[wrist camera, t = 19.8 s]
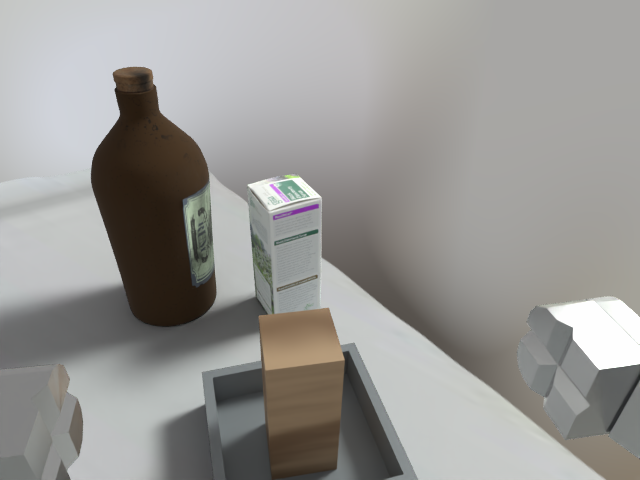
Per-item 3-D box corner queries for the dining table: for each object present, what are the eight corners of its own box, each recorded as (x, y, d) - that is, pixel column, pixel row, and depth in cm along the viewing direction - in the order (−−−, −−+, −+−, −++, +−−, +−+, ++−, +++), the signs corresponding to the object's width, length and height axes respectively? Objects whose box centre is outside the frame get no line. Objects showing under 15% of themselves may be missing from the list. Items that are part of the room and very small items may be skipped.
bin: (206, 403, 44) (201, 372, 41) (351, 372, 47) (354, 342, 45) (225, 566, 33) (219, 536, 31) (411, 512, 36) (419, 482, 34)
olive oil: (108, 329, 51) (37, 87, 37) (143, 267, 60) (96, 54, 46) (210, 334, 51) (177, 92, 37) (230, 271, 60) (209, 57, 46)
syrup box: (322, 311, 54) (326, 195, 46) (273, 328, 52) (268, 209, 44) (299, 282, 58) (299, 171, 50) (252, 297, 56) (244, 182, 48)
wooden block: (336, 469, 38) (344, 360, 31) (271, 480, 37) (265, 370, 30) (324, 414, 42) (328, 307, 35) (265, 423, 41) (258, 315, 34)
